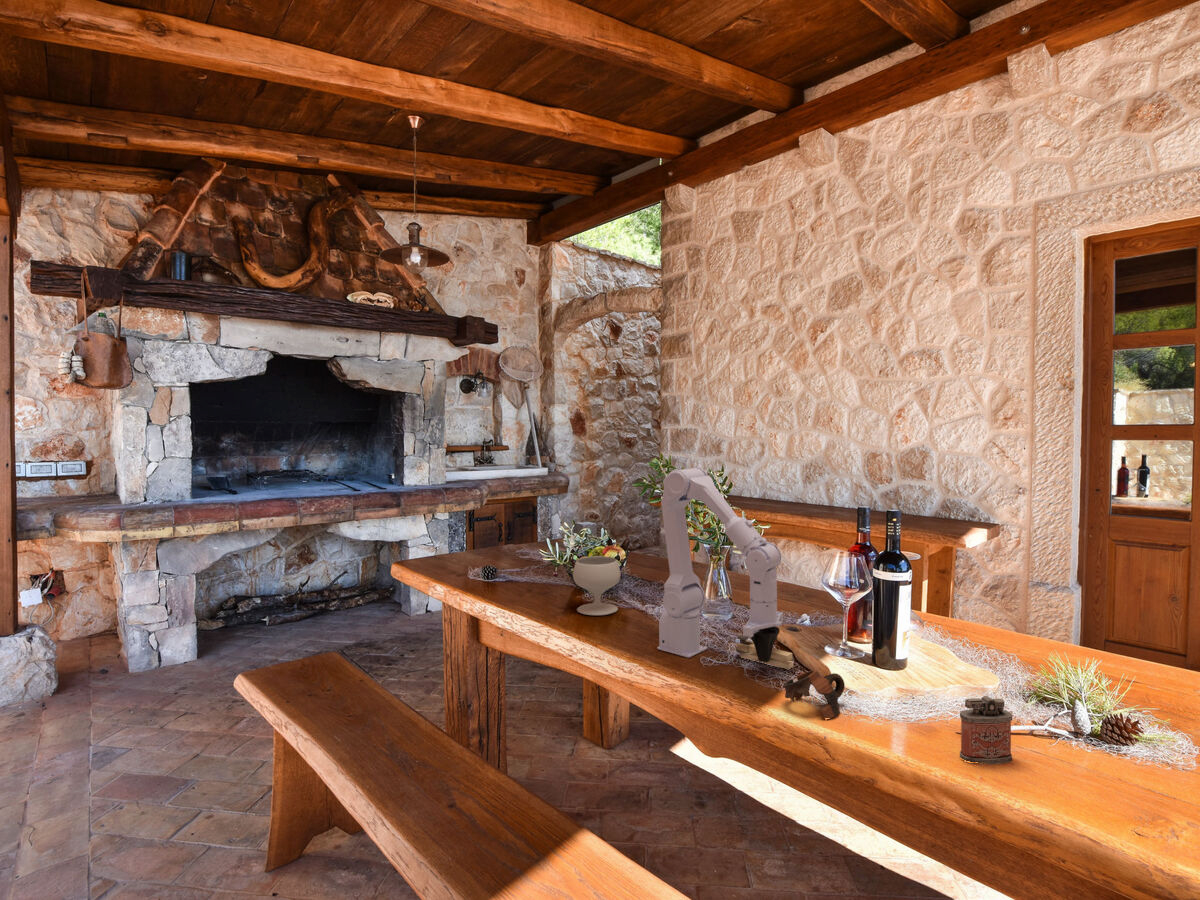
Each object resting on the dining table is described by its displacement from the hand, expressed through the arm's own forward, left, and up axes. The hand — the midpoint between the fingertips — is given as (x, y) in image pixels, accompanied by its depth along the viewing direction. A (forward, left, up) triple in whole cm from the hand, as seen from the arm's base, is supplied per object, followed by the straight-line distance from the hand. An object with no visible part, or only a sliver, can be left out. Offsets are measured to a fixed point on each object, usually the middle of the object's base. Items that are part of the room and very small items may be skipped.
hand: (763, 660), depth 143 cm
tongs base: (-3, +5, -2) cm, 6 cm away
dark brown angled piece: (+17, -10, -3) cm, 19 cm away
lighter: (+45, -10, -3) cm, 46 cm away
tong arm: (-2, +4, 0) cm, 5 cm away
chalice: (-60, +11, -3) cm, 61 cm away
